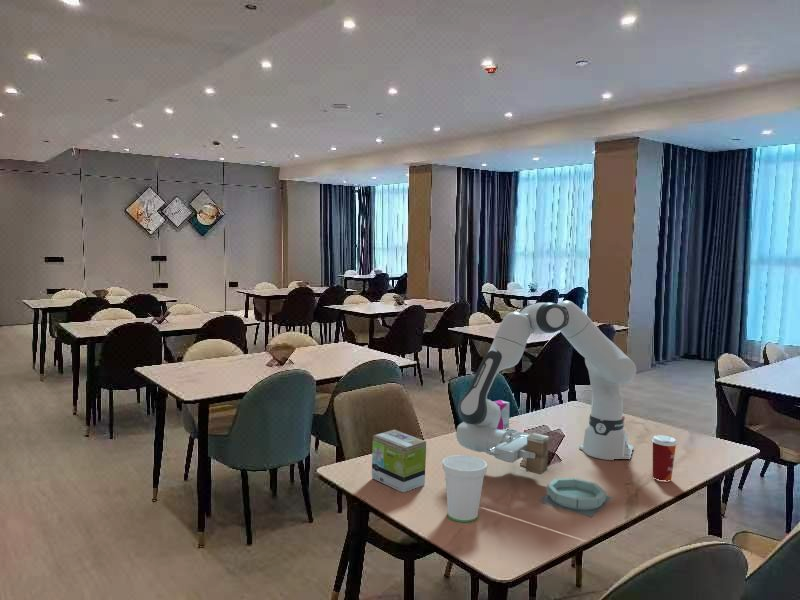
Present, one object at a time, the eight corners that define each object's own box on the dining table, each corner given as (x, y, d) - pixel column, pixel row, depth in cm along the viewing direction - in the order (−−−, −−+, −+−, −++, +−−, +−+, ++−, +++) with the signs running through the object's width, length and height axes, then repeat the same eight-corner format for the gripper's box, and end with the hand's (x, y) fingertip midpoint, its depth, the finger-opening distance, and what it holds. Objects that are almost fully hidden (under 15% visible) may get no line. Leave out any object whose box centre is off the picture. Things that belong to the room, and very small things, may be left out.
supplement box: (498, 425, 253) (499, 399, 252) (509, 429, 249) (510, 402, 248) (489, 428, 249) (490, 401, 248) (500, 431, 245) (501, 404, 244)
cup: (493, 515, 167) (495, 462, 166) (467, 530, 158) (470, 474, 157) (457, 502, 176) (459, 451, 174) (431, 515, 166) (433, 462, 165)
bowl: (560, 484, 190) (561, 474, 190) (610, 498, 181) (611, 487, 180) (540, 500, 177) (540, 489, 177) (592, 516, 168) (593, 504, 168)
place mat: (561, 484, 191) (561, 483, 191) (611, 498, 182) (612, 497, 181) (538, 502, 177) (538, 501, 177) (591, 518, 167) (591, 517, 167)
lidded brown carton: (532, 466, 194) (533, 432, 193) (547, 470, 191) (549, 436, 190) (525, 470, 190) (526, 436, 189) (540, 474, 187) (542, 440, 186)
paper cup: (677, 484, 194) (680, 443, 192) (651, 482, 195) (654, 440, 194) (671, 476, 201) (674, 435, 200) (647, 473, 203) (649, 433, 202)
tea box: (370, 479, 191) (371, 434, 190) (392, 471, 198) (394, 428, 197) (403, 494, 180) (404, 446, 179) (425, 485, 187) (427, 439, 186)
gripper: (486, 442, 189) (526, 451, 181) (514, 427, 206) (552, 435, 198) (485, 461, 190) (525, 472, 182) (514, 445, 206) (552, 453, 198)
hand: (540, 452), depth 190 cm, fingers closed on lidded brown carton, 5 cm apart
